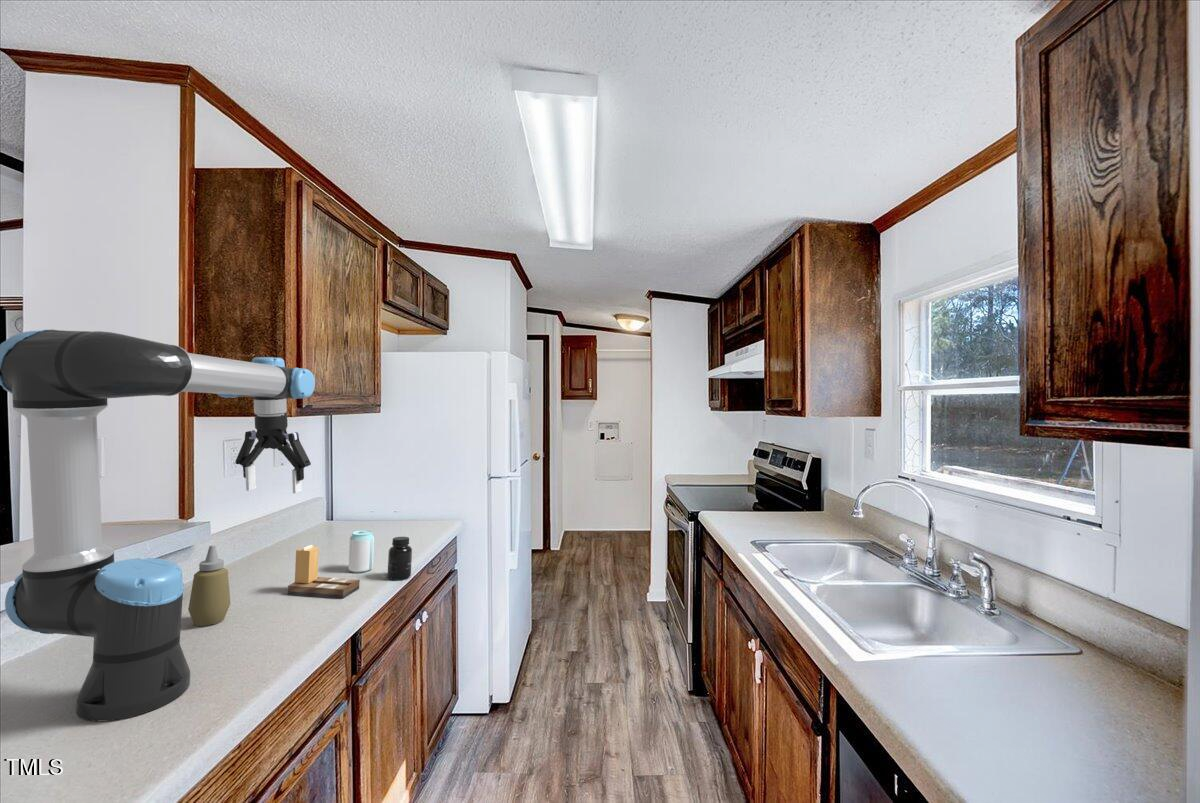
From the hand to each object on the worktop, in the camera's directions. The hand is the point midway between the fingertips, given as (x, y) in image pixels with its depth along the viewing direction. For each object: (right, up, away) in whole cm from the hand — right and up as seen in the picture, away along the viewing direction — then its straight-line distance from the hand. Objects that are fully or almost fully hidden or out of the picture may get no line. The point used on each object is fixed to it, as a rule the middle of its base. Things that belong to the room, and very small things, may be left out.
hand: (274, 490), depth 143 cm
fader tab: (+7, -27, +3) cm, 28 cm away
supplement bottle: (+28, -30, +17) cm, 44 cm away
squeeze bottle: (-3, -28, -19) cm, 34 cm away
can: (+14, -29, +22) cm, 39 cm away
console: (+12, -29, +3) cm, 31 cm away
